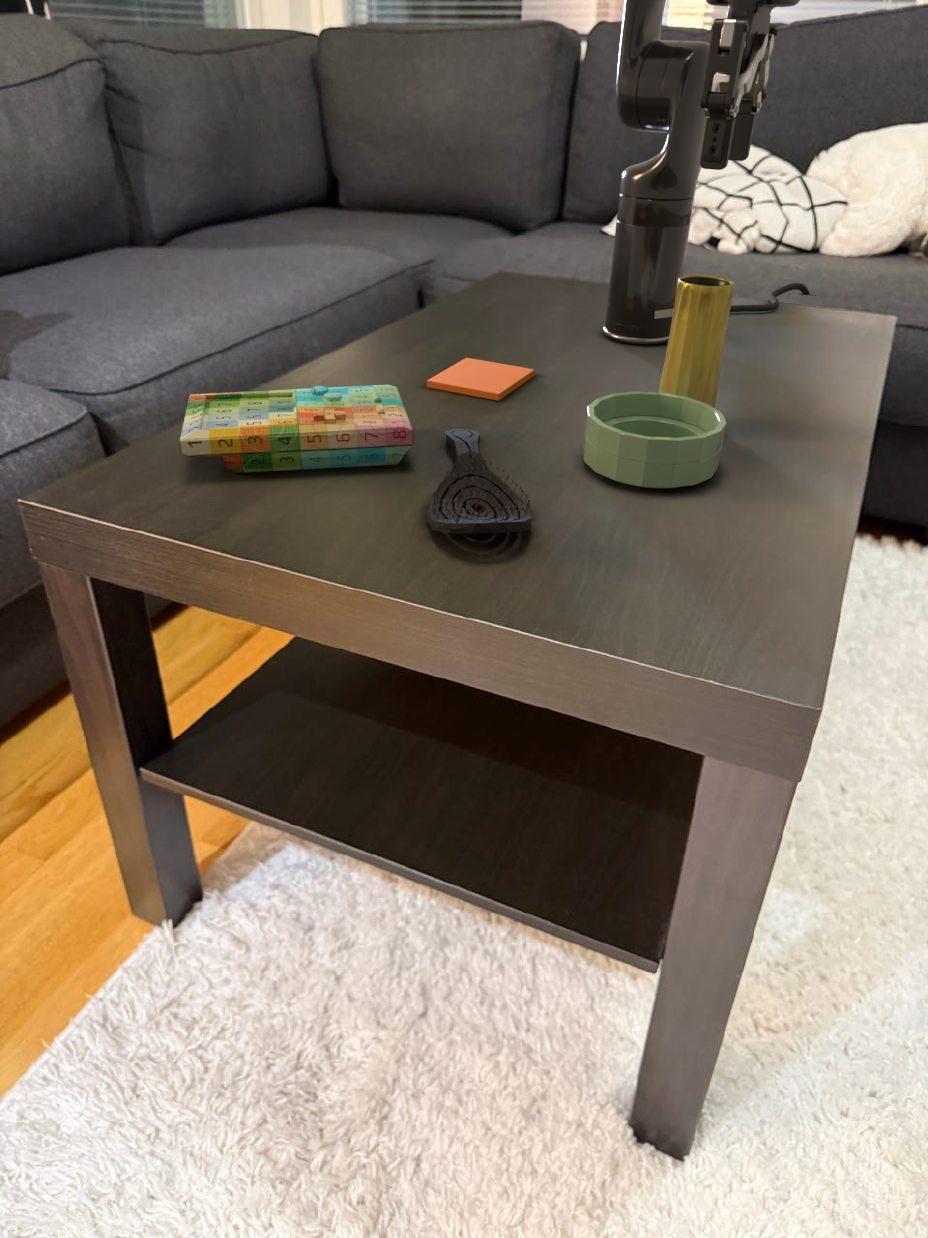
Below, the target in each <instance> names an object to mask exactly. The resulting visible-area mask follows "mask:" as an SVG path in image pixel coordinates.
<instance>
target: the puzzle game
mask: <svg viewBox="0 0 928 1238" xmlns="http://www.w3.org/2000/svg"><path fill="white" fill-rule="evenodd" d="M180 431H181V432H180V435H179V438H178V439H179V440H178V444H179V451H180V454H181V455H185V456H187V457H189V458H192V457H193V458H194V457H195V458H199V457H222V460H223V463H224V466H225V468H228V469H229V470H231V471H232V472H233V473H235V474H241V473H259V472H279V471H280V472H281V471H297V470H298V471H300V470H317V469H335V468H351V467H352V468H355V467H371V466H372V467H374V466H375V467H376V466H391V465H392V466H393V465H399V464H400V463H401V460H403V458H404V457H405V454H406V453H407V452H408V451H409V450H410V449H411V448H412V447H413V446H414V429H413V426H412V423H411V420H410V417H409V415H408V412H407V410H406V407H405V405H404V402H403V399H402V396H401V394H400V391H399V388H398V386H395V385H391V384H374V385H371V384H370V385H354V386H353V385H352V386H351V385H350V386H333V387H327V386H324V385H315V386H312V387H311V388H292V389H290V388H289V389H274V390H273V389H272V390H269V389H268V390H252V391H250V390H249V391H235V392H234V391H232V392H229V391H228V392H210V393H208V392H207V393H191V394H189V396H188V399H187V403H186V409H185V413H184V418H183V421H182V426H181V430H180Z"/></svg>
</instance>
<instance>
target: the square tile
mask: <svg viewBox="0 0 928 1238" xmlns="http://www.w3.org/2000/svg"><path fill="white" fill-rule="evenodd" d="M535 372H536V370H535V368H530V367H529V368H528V367H523V366H519V365H511V364H506V363H500V362H494V361H487V360H483V359H477V358H471V357H465V358H463V359H462V360H460V361H458V362H457V363H455V364H453V365H451V366H449V367H447V368H446V369H444V370H443V371H441V372H439V373H437V374H436V375H434V376H433V377H431V378H429V379H427V380H426V388H429V389H434V390H440V391H445V392H451V393H455V394H460V395H467V396H471V397H477V398H481V399H488V400H492V401H497V402H499V401H500V400H501V401H502V399H504V398H505V397H506V396H508V395H509V394H510V393H513V391H515V390H516V389H518V388H519V387H521V386H522V385H523V384H526V382H528V381H530V380H531V379H532V378H533V377H535Z"/></svg>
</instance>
